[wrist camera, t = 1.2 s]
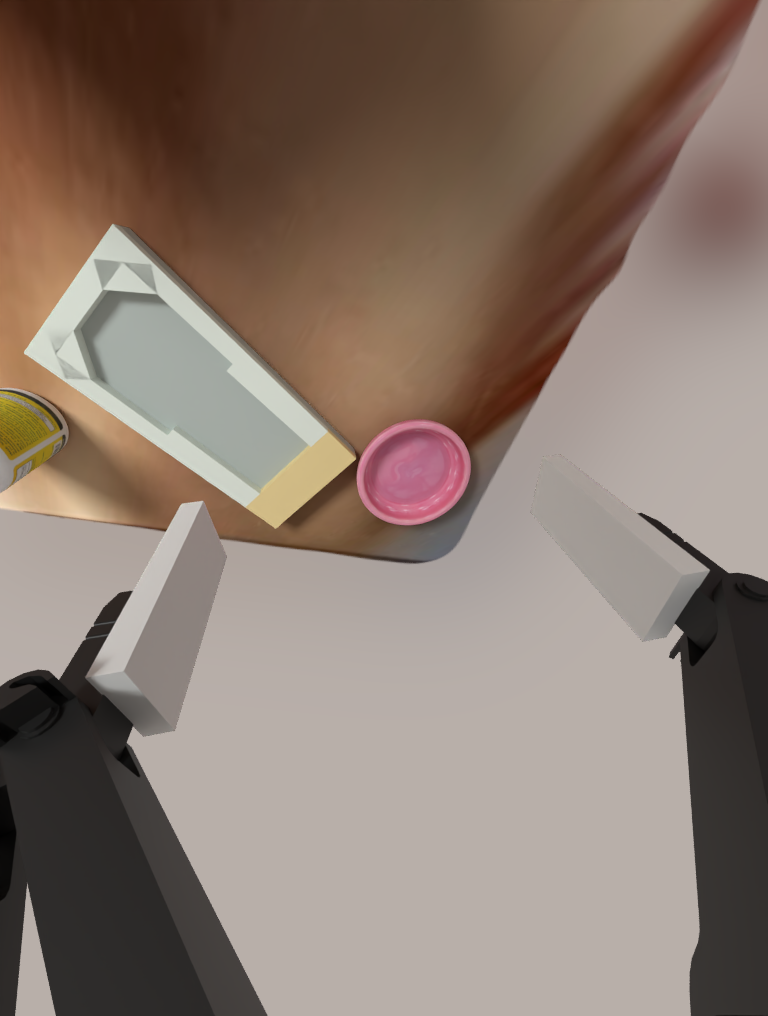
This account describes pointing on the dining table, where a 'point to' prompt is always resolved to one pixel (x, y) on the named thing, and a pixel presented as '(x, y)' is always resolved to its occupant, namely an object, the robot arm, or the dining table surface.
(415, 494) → the saucer
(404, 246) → the dining table surface
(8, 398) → the pill bottle
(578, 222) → the dining table surface
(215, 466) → the keyhole board
